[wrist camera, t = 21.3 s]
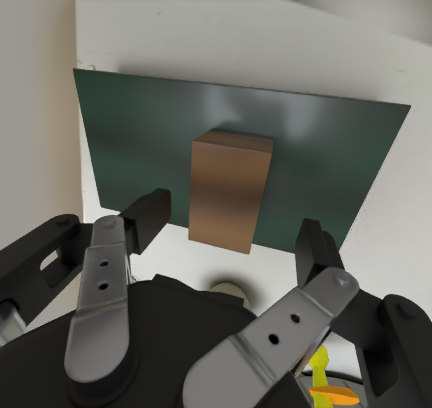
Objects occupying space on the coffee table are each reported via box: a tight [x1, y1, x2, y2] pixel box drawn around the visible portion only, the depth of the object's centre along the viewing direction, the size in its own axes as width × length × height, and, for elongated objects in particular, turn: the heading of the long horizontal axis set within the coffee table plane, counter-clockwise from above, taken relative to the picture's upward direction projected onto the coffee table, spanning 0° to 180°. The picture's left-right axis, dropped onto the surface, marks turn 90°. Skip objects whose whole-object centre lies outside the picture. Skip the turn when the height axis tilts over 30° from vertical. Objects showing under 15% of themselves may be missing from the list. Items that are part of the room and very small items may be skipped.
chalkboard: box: [73, 68, 411, 254], centre depth 22 cm, size 14×26×6 cm, turn 84°
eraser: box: [188, 128, 274, 255], centre depth 17 cm, size 8×5×5 cm, turn 174°
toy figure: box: [308, 344, 360, 408], centre depth 29 cm, size 7×4×12 cm, turn 113°
